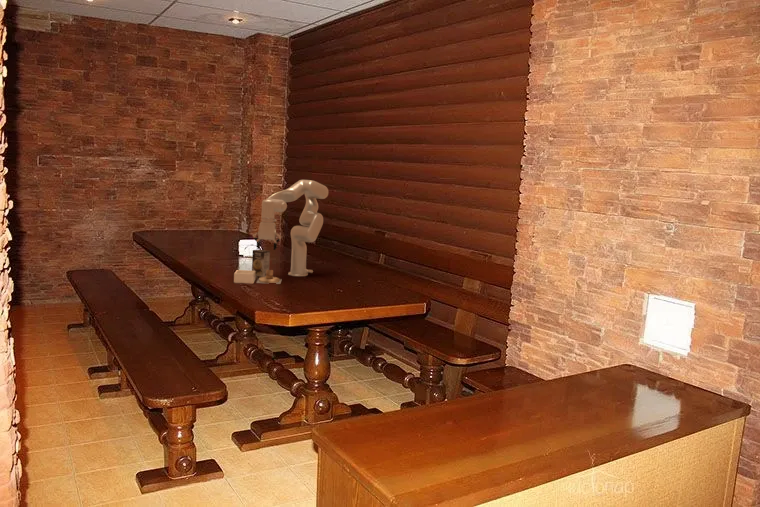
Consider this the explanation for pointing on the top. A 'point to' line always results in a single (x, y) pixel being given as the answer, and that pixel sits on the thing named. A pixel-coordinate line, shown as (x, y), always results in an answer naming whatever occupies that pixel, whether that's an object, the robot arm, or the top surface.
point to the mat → (276, 283)
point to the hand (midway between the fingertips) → (266, 249)
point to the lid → (269, 277)
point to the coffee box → (260, 262)
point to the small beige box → (244, 276)
